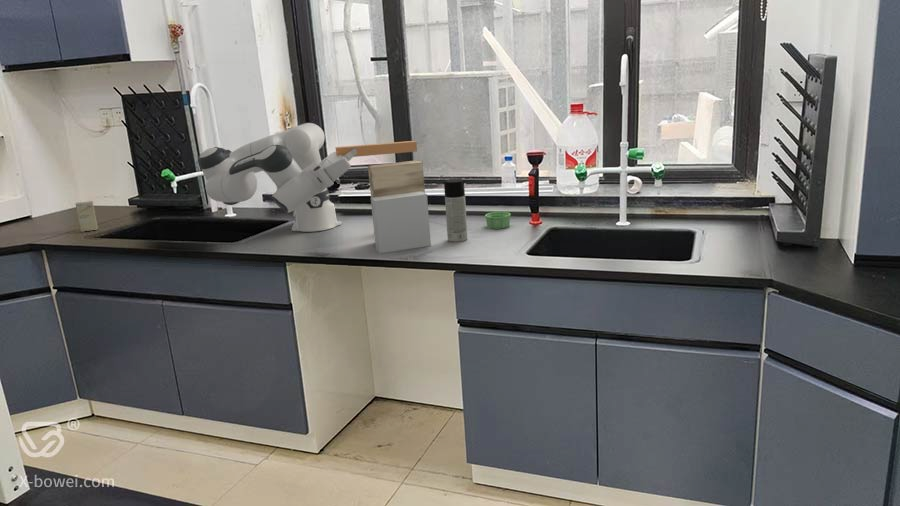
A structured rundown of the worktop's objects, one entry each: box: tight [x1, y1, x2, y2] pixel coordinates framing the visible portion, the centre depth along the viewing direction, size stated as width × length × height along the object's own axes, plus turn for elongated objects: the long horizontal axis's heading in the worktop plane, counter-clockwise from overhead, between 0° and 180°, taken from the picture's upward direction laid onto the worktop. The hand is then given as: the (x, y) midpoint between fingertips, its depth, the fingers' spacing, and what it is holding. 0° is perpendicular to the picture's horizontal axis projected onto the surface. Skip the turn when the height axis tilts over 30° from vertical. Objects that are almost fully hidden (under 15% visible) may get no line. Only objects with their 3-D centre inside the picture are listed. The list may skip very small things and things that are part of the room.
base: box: [370, 191, 432, 254], centre depth 210 cm, size 6×17×17 cm, turn 109°
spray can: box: [443, 178, 468, 243], centre depth 214 cm, size 7×7×20 cm
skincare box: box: [75, 200, 99, 232], centre depth 271 cm, size 6×4×12 cm
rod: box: [335, 140, 418, 158], centre depth 211 cm, size 3×26×3 cm, turn 109°
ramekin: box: [485, 211, 511, 230], centre depth 231 cm, size 9×9×4 cm
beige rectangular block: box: [367, 160, 426, 199], centre depth 218 cm, size 6×17×26 cm, turn 109°
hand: (354, 149), depth 209 cm, fingers closed on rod, 3 cm apart
